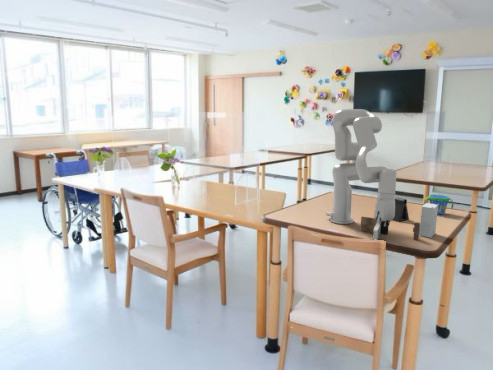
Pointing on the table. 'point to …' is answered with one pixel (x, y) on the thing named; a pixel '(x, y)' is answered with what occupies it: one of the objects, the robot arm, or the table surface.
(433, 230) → the skincare box
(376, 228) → the gate
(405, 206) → the door stopper
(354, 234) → the table surface
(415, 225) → the gate posts
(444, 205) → the snack cup
